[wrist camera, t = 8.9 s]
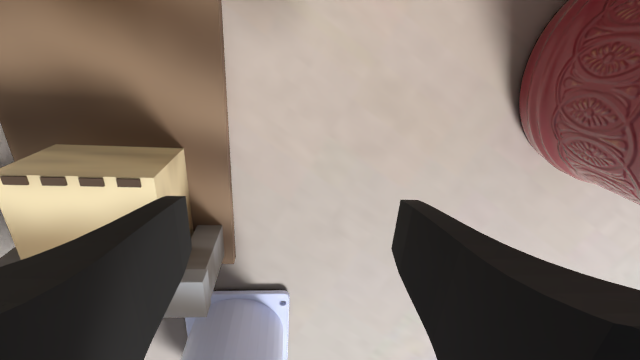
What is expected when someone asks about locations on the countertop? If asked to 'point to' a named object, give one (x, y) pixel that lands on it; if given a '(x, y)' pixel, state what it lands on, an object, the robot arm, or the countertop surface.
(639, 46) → the canister
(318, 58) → the countertop surface
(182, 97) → the board
